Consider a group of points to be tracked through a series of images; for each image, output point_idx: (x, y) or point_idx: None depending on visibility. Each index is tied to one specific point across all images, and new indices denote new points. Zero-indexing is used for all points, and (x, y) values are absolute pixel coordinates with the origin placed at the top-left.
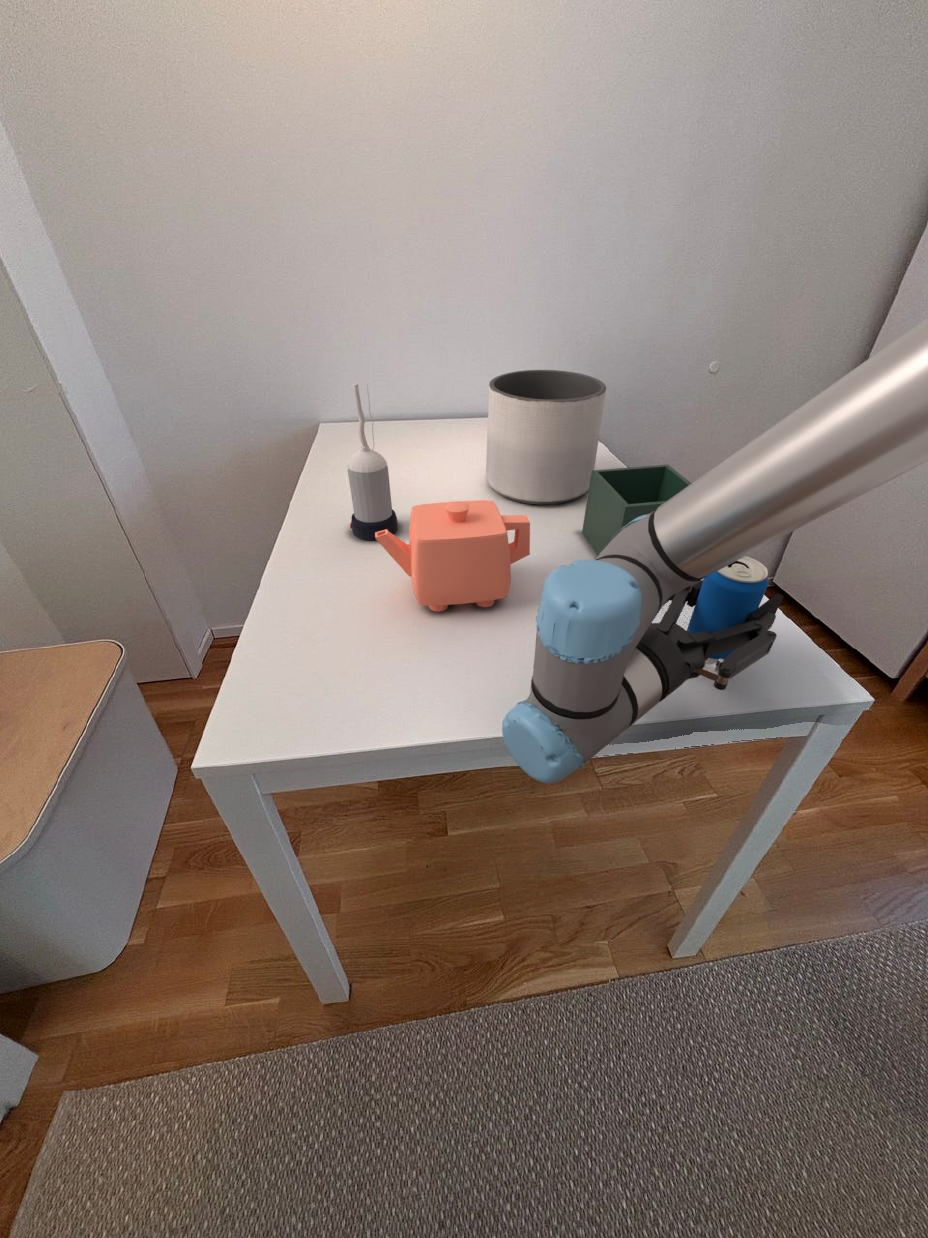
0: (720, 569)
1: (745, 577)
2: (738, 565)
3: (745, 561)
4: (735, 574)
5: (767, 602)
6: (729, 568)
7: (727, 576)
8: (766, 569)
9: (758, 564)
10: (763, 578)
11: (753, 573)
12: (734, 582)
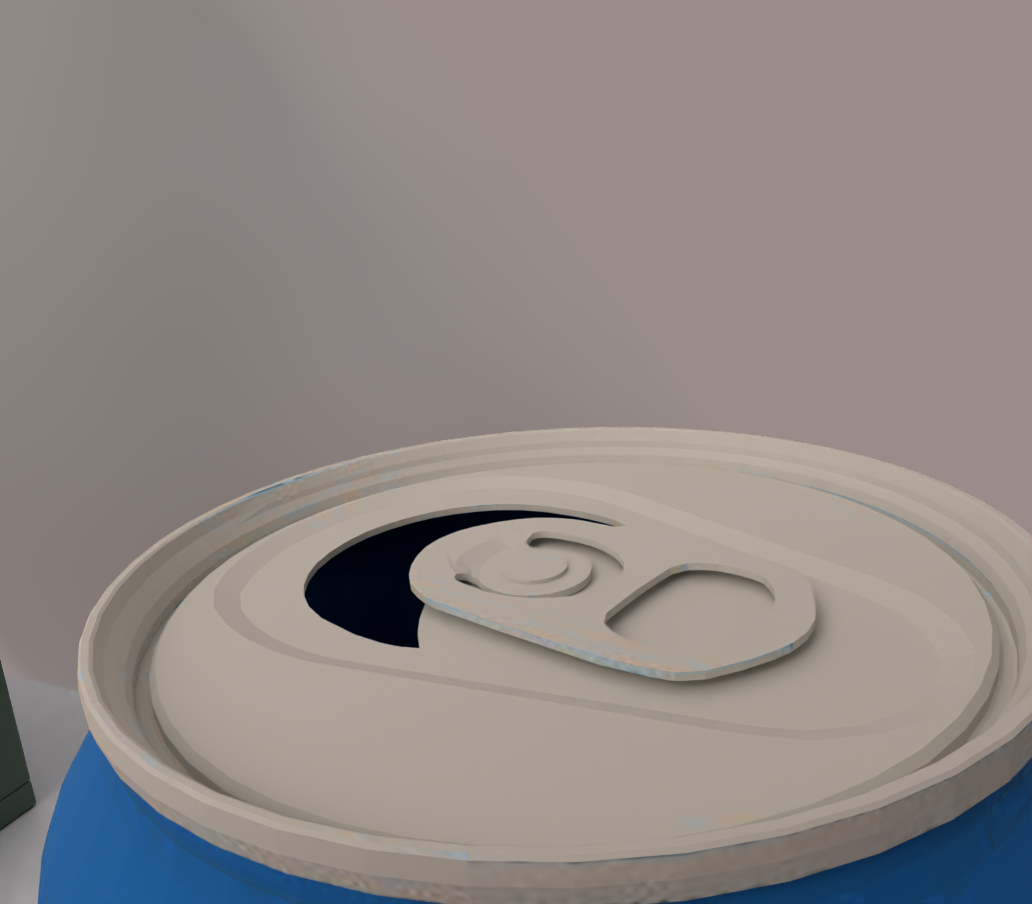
0: (313, 772)
1: (811, 644)
2: (483, 548)
3: (476, 489)
4: (638, 692)
5: None
6: (430, 652)
7: (684, 867)
8: (768, 442)
9: (618, 453)
10: (988, 515)
11: (757, 539)
12: (883, 895)
